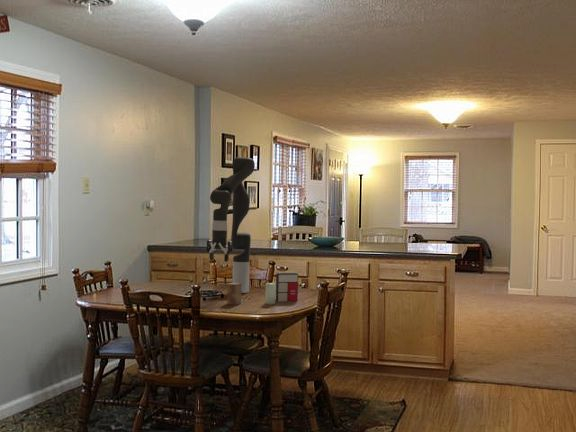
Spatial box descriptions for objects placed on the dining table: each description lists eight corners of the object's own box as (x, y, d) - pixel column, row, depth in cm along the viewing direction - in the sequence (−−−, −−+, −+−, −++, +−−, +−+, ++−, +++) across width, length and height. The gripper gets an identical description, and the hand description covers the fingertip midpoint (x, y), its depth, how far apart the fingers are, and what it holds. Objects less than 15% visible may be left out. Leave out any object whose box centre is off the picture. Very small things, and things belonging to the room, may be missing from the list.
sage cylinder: (264, 302, 333) (265, 282, 332) (274, 302, 333) (275, 283, 333) (265, 304, 328) (265, 284, 327) (275, 304, 328) (275, 284, 328)
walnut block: (227, 303, 326) (227, 283, 326) (232, 302, 331) (232, 282, 330) (235, 304, 324) (236, 284, 323) (240, 303, 328) (241, 283, 328)
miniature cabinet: (277, 303, 338) (278, 274, 337) (275, 301, 342) (276, 272, 341) (297, 302, 340) (298, 273, 340) (295, 301, 345) (296, 272, 344)
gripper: (204, 229, 337) (203, 260, 338) (227, 230, 331) (227, 262, 331) (212, 228, 344) (211, 259, 344) (235, 229, 338) (234, 261, 338)
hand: (219, 261), depth 338 cm, fingers open, 8 cm apart
